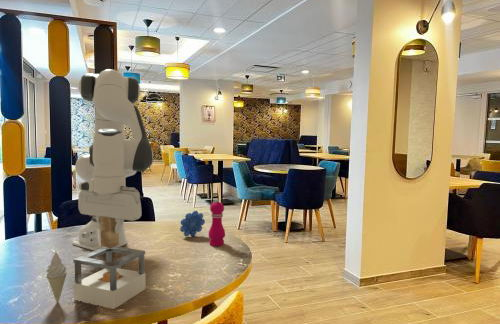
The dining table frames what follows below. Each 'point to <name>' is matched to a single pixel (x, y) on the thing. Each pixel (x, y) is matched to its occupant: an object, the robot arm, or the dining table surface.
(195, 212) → the blue flower gear
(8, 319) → the dining table surface
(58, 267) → the ice cream cone
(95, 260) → the guard frame
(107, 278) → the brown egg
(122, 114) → the robot arm
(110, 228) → the wooden toy block
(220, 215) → the pepper mill
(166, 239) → the dining table surface
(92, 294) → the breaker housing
